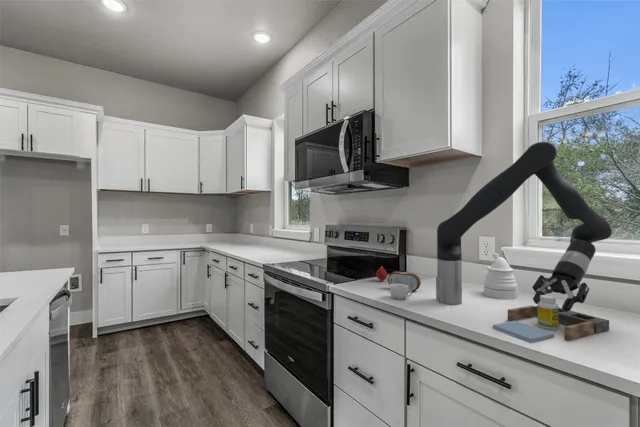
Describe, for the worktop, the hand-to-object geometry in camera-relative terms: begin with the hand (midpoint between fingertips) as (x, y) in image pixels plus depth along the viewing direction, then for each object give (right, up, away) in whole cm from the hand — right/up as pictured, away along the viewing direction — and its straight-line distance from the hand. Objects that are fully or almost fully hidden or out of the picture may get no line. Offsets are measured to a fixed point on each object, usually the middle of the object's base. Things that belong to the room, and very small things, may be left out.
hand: (549, 306), depth 98 cm
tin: (-34, -7, +47) cm, 58 cm away
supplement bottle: (-1, -7, 0) cm, 7 cm away
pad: (-12, -6, -5) cm, 14 cm away
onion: (-40, -7, +66) cm, 78 cm away
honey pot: (+6, -7, +38) cm, 39 cm away
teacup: (-39, -7, +33) cm, 51 cm away
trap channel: (+3, -6, +1) cm, 7 cm away
